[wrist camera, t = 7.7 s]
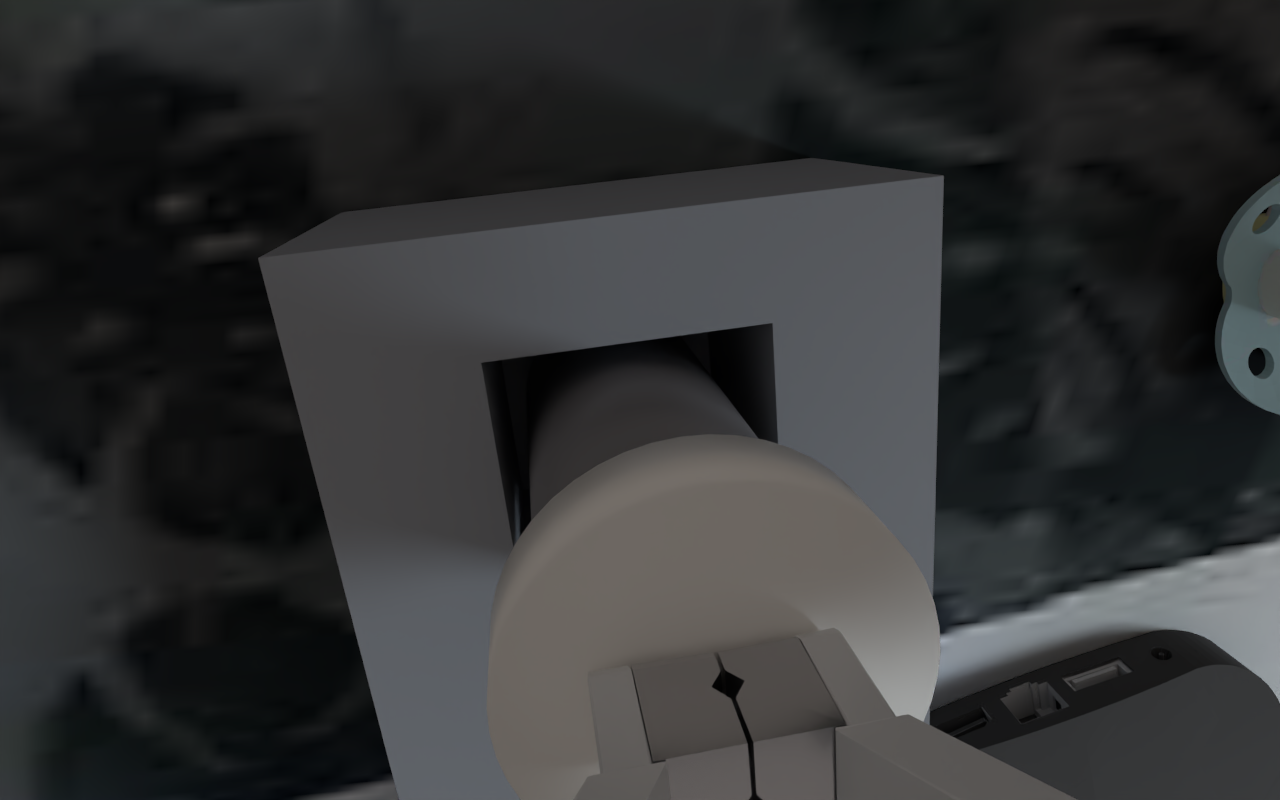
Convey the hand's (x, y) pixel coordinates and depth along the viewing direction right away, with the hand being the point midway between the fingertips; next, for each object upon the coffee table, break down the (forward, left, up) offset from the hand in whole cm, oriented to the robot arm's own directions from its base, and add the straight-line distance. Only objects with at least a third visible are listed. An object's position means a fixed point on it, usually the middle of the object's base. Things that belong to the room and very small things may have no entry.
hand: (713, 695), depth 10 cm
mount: (0, +6, -13) cm, 15 cm away
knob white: (0, 0, -11) cm, 11 cm away
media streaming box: (-15, +20, -14) cm, 29 cm away
